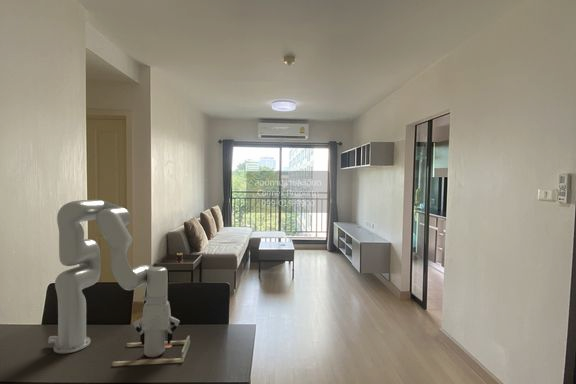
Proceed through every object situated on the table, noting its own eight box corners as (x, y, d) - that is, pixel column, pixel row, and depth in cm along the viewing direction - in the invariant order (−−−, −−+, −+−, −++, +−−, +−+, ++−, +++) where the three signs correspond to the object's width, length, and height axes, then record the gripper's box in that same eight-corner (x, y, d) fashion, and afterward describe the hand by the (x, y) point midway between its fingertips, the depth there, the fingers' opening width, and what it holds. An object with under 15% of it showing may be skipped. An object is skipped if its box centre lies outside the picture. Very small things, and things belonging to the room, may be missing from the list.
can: (167, 348, 131) (168, 319, 131) (159, 358, 124) (160, 327, 123) (149, 348, 131) (149, 318, 131) (140, 358, 124) (140, 326, 124)
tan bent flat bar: (112, 366, 118) (112, 356, 118) (127, 345, 133) (127, 337, 133) (183, 362, 121) (183, 353, 121) (190, 343, 136) (190, 334, 136)
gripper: (130, 303, 122) (130, 348, 123) (177, 302, 124) (177, 346, 125) (137, 296, 130) (136, 339, 130) (181, 295, 132) (181, 337, 132)
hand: (156, 342), depth 127 cm, fingers open, 9 cm apart
